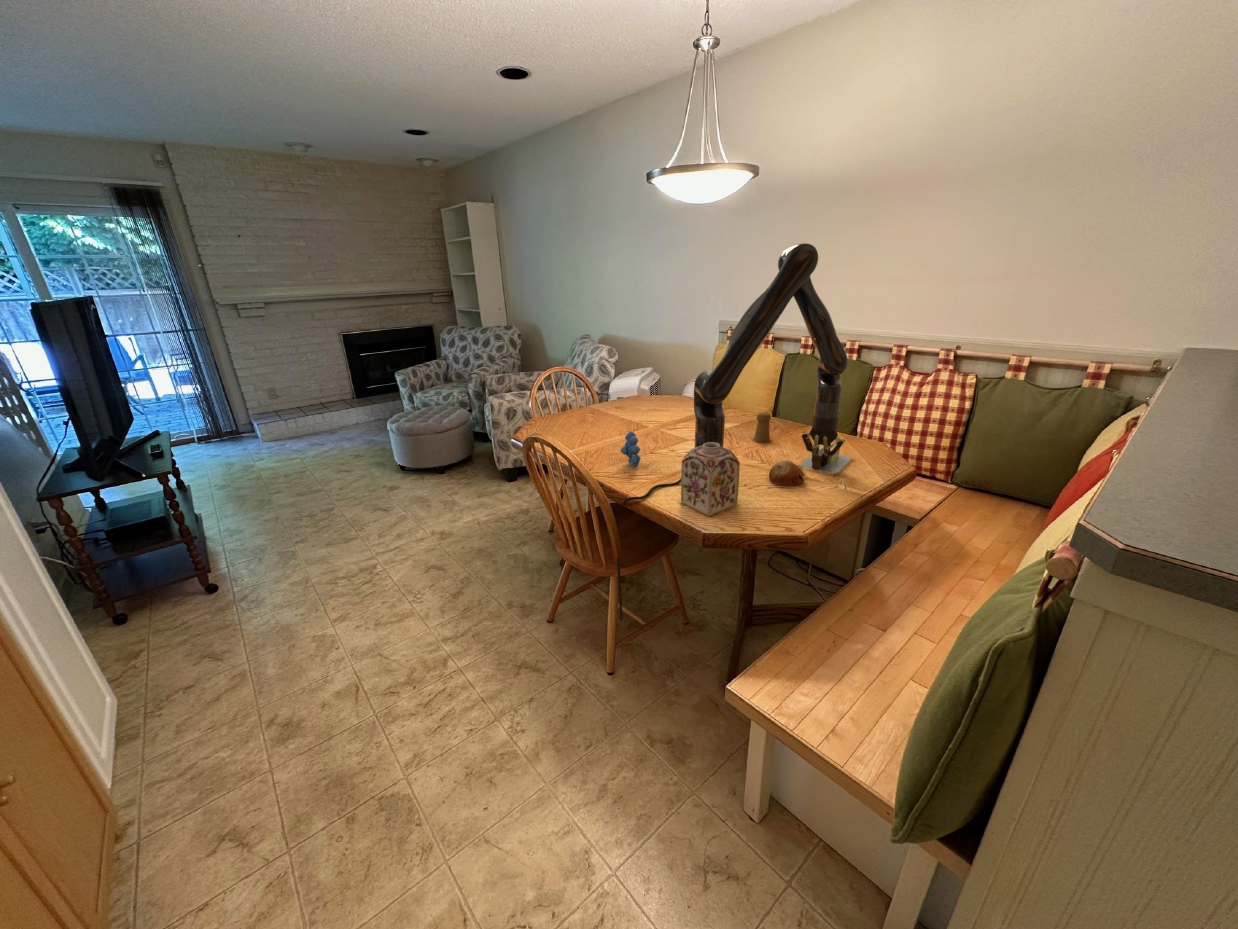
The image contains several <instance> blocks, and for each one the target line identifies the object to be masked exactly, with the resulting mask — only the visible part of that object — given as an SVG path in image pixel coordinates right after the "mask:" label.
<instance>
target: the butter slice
mask: <svg viewBox="0 0 1238 929" xmlns="http://www.w3.org/2000/svg"><path fill="white" fill-rule="evenodd" d="M835 446H836V444H834V446H833V447H831V448H830V451H832V450H833V449H834V447H835ZM840 452H841V447H840V448H839V450H838V451H837V452H836V453H835V454H834V455H833V456H829V460H828V463H832V462H833V461H834V460H835V459H836V458H837V457H838V456H839V455H840Z"/></svg>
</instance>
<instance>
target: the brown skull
mask: <svg viewBox="0 0 1238 929" xmlns="http://www.w3.org/2000/svg"><path fill="white" fill-rule="evenodd" d="M805 476H806V474H805V473H804V470H802V469H801V467H800V466H799V465H797V464H795V463H794V462H793V461H790V460H780V461H778V462H776V463H775V464H774V465H772V467H771V468H770V470H769V472H768V479H769V480H770V482H772V483H773V484H775V485H778V486H785V487H796V486H798V485H800V484H802V482H805V478H804V477H805Z"/></svg>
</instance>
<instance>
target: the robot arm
mask: <svg viewBox="0 0 1238 929" xmlns="http://www.w3.org/2000/svg"><path fill="white" fill-rule="evenodd" d="M818 264H819V252H818V250H817V248H816V247H815V246H814V245H813V244H811V243H806V242H805V243H798V244H795V245H793V246H790V247H788V248H786V249H784V250H783V252H781V254H780V255H779V257H778V259H777V268H778V271H777V274H776V275H775V277H774V278H773V280H772V281H771V283H770V285H769V286H768V287H767V288H766V289H765V290H764V291H763V292H762V293H761V294H760V295H759V296H758V297H757V298H756V299H755V300H754V301H753V302H752V303H751V305H749V307H748V308H747V309H746V311H745V312H744V313H743V315H742V316H741V318H740V319H739V320H738V322H737V324H736V325H735V327H734V329H733V331H732V333H731V336H730V338H729V342H728V344H727V347H726V350H725V353H724V354H723V357H721V359H720V361H719V362H718V364H716V367H715V368H714V369H713V370H709V369H708V370H704V371H701V372H700V373H699V374H698V375H697V377H696V378H695V380H694V386H693V414H694V418H695V419H694V447H693V448H695V447H699V446H703V444H704V443H708V442H715V443H718V444H720V447H723V448H725V447H724V446H725V445H724V444H725V426H726V425H725V424H726V413H725V411H724V407H723V402H724V401H725V400H726V399H727V398H728V397H729V395H730V393H731V392H732V389H733V388H734V386H735V385H736V382H737V381H738V379H739V377H740V375H741V374H742V372H743V370H744V369H745V367H746V366H747V364H748V363H749V362H750V360H751V359H752V358H753V356H754V355H755V353H756V352H757V350H758V349H759V348H760V346H761V345H762V344H763V343H764V341H765V340H766V338H767V336H769V334H770V332H771V331H772V330H773V328H774V326H775V325H776V323H777V322H778V320H779V319H780V317H781V316H782V314H783V313H784V311H785V309H786V308H787V306H788V304H789V303H790V302H791V300H792V298H794V301H795V302H796V305H797V307H798V309H799V312H800V314H801V316H802V319H803V322H804V324H805V327H806V329H807V332H808V335H809V338H810V340H811V342H812V344H813V346H814V347H815V348H816V350H817V352H818V355H819V358H818V360H817V361H818V362H817V363H818V364H817V389H816V398H815V403H814V405H813V406H814V407H813V414H812V423H811V429H810V430H809V431H808V432H804V433H803V434H801V438H802V441H803V444H804V446H805V449H806V451H807V452H810V453H811V455H812V462H813V455H814V454H815V453H817V452H818V451H819V447H820V445H823V449H824V456H823V460H822V466H823V467H824V466H825V465H827V464H828V460H829V456H833V455H834V454H835V453H836V452H837V451H838V450H839V448H840V449H841V447H842V446H843V445H844V444H845V442H846V439H845V438H841V437H840V436H839V434H838V425H839V419H840V414H841V399H842V392H843V386H842V383H841V375H842V374H844V373H845V372H846V371H847V369H848V366H849V358H848V355H847V353H846V351H845V348H844V347H843V344H842V342H841V340H840V339H839V336H838V335H837V330H836V327H835V325H834V322H833V319H832V316H831V314H830V312H829V310H828V308H827V307H826V305H825V304H824V302H823V301H822V299H821V297H820V296H819V294H818V292H817V291H816V289H815V287H814V284H813V281H812V278H811V275H812V274H813V273H814V272H815V271H816V269H817V266H818ZM811 439H812V441H813V443H812V441H811ZM833 442H835V445H836V446H835V447H834V449H833V450H832V451H830V447H831V444H832V443H833ZM679 484H681V478H679V479H678V480H677V481H674V482H671V483H661V484H656V485H654V486H652V487H651V488H650V489H649V490H648V491H647V492H646V493H645V494H643V495H641V496H630V497H627V498H626V499H624V500H623V501H622V503H621V506H625V505H626V504H627V502H630V501H635V500H637V501H639V500H640V501H641V500H644V499H646V498H648V496H649V497H650V495H651V493H653V491H654V490H656V489H659V488H665V487H673V486H676V485H679ZM616 569H617V588H618V606H619V608H618V609H619V621H620V622H622V621H623V596H622V580H621V578H622V577H621V557H620V556H619V557H616Z"/></svg>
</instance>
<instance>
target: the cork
mask: <svg viewBox="0 0 1238 929" xmlns="http://www.w3.org/2000/svg"><path fill="white" fill-rule="evenodd" d="M771 419H772V415H771V413H769V412H766V411H761V412H759V413H757V415H756V420H757V424H756V428H755V433H754V438H753V441H754V442H757V443H763V444H764V443H765V444H766V443H769V442H770V441H771V433H770V432H771V431H770V421H771Z"/></svg>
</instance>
